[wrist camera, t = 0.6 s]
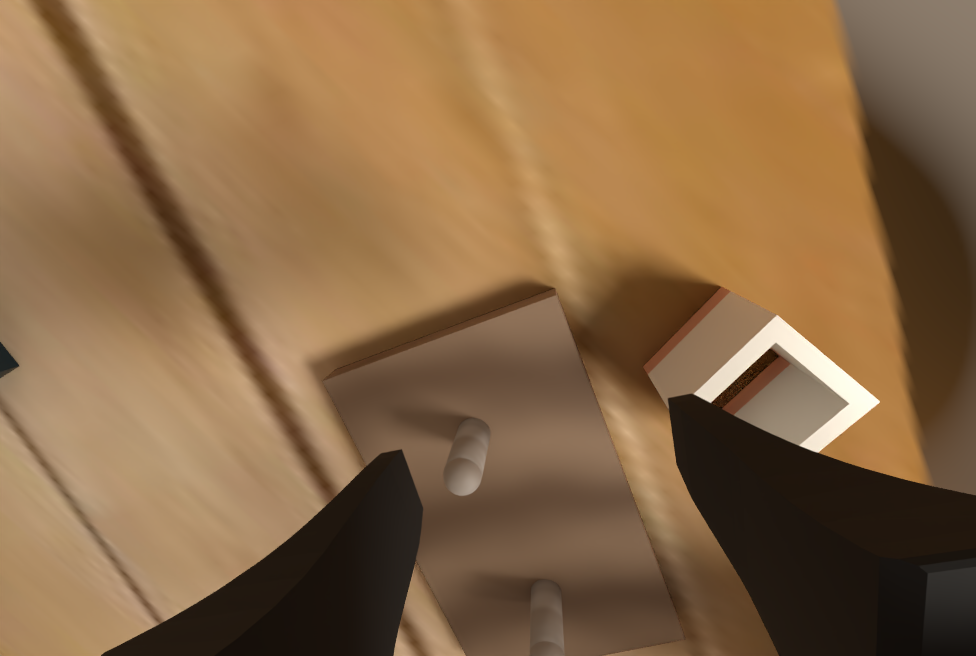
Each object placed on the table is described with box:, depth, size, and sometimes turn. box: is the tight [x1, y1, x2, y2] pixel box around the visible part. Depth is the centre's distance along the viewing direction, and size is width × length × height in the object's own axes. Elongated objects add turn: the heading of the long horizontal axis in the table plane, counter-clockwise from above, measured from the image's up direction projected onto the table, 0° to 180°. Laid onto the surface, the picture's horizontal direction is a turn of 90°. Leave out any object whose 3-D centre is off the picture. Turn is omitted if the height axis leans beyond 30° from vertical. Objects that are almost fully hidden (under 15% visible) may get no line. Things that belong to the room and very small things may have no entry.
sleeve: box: [643, 287, 880, 453], centre depth 19 cm, size 5×5×5 cm
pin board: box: [322, 288, 685, 656], centre depth 22 cm, size 20×12×6 cm, turn 22°
